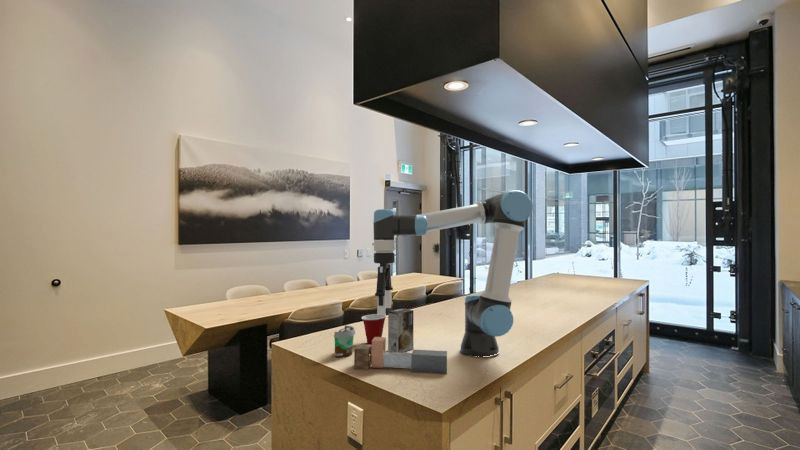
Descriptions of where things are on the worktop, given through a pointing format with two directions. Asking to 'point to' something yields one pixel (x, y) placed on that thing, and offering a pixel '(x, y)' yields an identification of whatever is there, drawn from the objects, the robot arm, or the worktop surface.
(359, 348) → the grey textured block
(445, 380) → the worktop surface
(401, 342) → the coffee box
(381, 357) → the slider
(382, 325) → the plastic cup
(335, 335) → the food container
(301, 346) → the worktop surface
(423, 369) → the block
